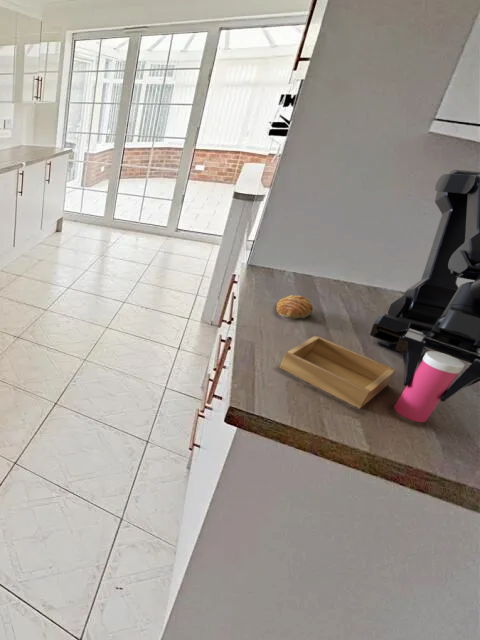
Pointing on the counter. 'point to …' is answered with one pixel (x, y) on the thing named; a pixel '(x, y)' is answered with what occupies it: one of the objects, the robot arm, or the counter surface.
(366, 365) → the wooden tray
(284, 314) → the pastry
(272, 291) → the counter surface
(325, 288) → the counter surface
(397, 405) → the candy tube
